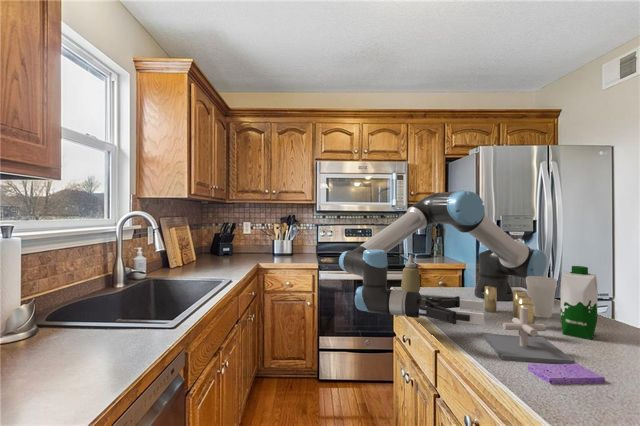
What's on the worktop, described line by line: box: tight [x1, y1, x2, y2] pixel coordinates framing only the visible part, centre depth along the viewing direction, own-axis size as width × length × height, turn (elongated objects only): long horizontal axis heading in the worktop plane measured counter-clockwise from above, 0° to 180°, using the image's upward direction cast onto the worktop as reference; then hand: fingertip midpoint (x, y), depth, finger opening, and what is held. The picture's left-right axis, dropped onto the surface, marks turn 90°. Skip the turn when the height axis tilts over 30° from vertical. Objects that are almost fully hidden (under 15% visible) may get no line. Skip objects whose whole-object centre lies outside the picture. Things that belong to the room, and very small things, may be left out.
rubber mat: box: [482, 333, 575, 365], centre depth 93 cm, size 16×16×1 cm
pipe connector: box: [502, 307, 547, 347], centre depth 93 cm, size 10×10×10 cm
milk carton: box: [560, 265, 599, 341], centre depth 105 cm, size 9×9×20 cm
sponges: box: [527, 363, 606, 385], centre depth 78 cm, size 7×13×2 cm, turn 93°
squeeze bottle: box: [400, 254, 421, 293], centre depth 151 cm, size 8×8×18 cm
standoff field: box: [483, 286, 535, 337], centre depth 116 cm, size 12×30×9 cm, turn 170°
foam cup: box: [525, 276, 558, 318], centre depth 125 cm, size 10×9×13 cm
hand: (483, 312), depth 97 cm, fingers open, 13 cm apart
